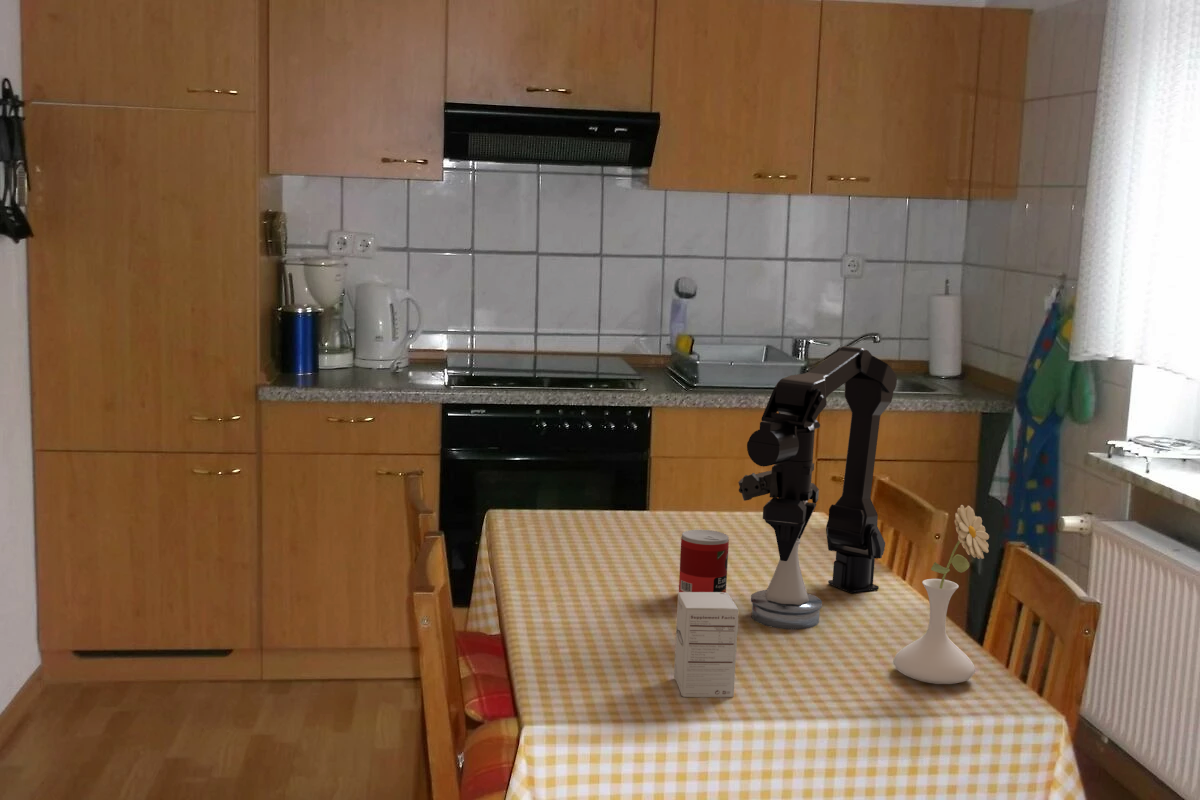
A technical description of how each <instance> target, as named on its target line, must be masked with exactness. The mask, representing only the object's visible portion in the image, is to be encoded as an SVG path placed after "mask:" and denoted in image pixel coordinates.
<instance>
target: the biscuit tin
mask: <svg viewBox="0 0 1200 800" xmlns="http://www.w3.org/2000/svg"><path fill="white" fill-rule="evenodd" d="M766 591H767V589H762V590H758V591H755V592H753V593H752V594H751V596H750V602H751V618H752V620H754V621H755V622H756V623H758V624H759V625H762V626H766V627H770V628H774V629H781V630H806V629H810V628H814V627H815V626H818V625H819V623H820V611H821V608H822V607H823V602H822V601H823V600H822V599H820V598H819V597H818V596H816V595H814V594H812V593H808V592H807V595H808V599H809V601H808V602H805V603H803V604H800V605H796V604H781V603H777V602H773V601H769V600H766V597H765V593H766Z"/></svg>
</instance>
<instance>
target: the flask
mask: <svg viewBox="0 0 1200 800" xmlns="http://www.w3.org/2000/svg"><path fill="white" fill-rule="evenodd" d="M800 544H801V538H800V539H799V538H798V539H797V541H796V543H795V545H794V547H793V550H792V552H791V554H790V556H789V558H788V560H787V561H781V560H780V559H778V560H779V561H778V563H777V565H776V567H775V568H776V569H775V571H774V573H773V576H772V578H771V580H770V582H769V585H768V587H767V588H766V590H767V591H766V593H765V597H766V600H769V601H773V602H777V603H781V604H796V605H800V604H803V603H805V602H808V601H809V599H808V595H807V593H808V592H807V591H808V590H807V589H806V584H805V581H804V578H803V574H802V570H801V566H800V560H799V545H800Z"/></svg>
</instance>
